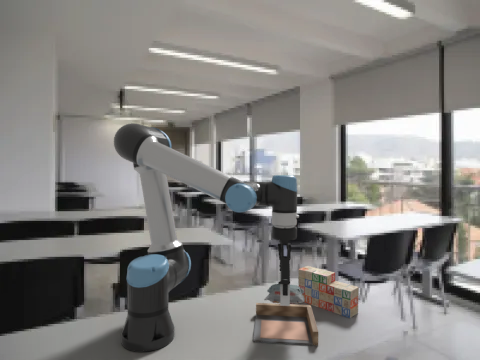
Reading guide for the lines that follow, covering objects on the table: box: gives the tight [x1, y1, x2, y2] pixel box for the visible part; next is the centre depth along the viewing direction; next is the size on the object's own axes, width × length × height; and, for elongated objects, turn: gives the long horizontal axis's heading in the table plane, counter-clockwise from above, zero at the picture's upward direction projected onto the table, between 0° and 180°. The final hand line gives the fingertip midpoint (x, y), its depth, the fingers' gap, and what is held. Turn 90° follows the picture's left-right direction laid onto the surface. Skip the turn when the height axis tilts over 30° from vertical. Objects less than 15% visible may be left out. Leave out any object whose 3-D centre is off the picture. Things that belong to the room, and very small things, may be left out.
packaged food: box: [264, 283, 305, 305], centre depth 99 cm, size 9×12×5 cm
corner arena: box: [252, 302, 319, 347], centre depth 102 cm, size 18×18×4 cm
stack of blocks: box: [297, 265, 360, 319], centre depth 118 cm, size 21×6×12 cm, turn 44°
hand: (284, 298), depth 100 cm, fingers closed on packaged food, 9 cm apart
